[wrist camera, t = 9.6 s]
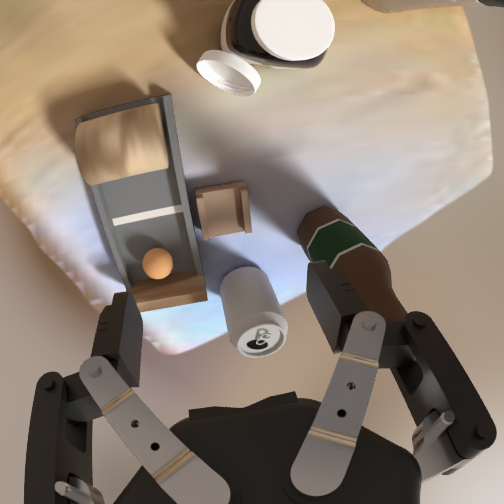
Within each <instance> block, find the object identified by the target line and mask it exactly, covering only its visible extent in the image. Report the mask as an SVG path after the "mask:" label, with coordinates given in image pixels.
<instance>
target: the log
mask: <svg viewBox="0 0 504 504" xmlns="http://www.w3.org/2000/svg"><path fill="white" fill-rule="evenodd" d="M75 153H76V159H77V163H78V167H79V169H80V172H81V174H82V176H83V178H84V180H85V181H86V183H88V184H89V185H91V186H93V185H97V184H101V183H105V182H109V181H113V180H117V179H121V178H125V177H129V176H134V175H138V174H143V173H147V172H152V171H157V170H161V169H166V168H168V164H169V163H168V150H167V142H166V135H165V129H164V123H163V118H162V114H161V110H160V106H159V104H158V103H155V104H150V105H145V106H141V107H137V108H132V109H128V110H124V111H120V112H117V113H113V114H109V115H106V116H102V117H99V118H95V119H92V120H88V121H85V122H82V123H80V124H79V125H78V126H77V129H76V133H75Z"/></svg>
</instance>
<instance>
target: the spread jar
mask: <svg viewBox="0 0 504 504" xmlns="http://www.w3.org/2000/svg"><path fill="white" fill-rule="evenodd" d="M334 31H335V24H334V19H333V16H332V13H331V11H330V9H329V8H328V6H327V5H326V4H325V3H324V1H323V0H234V1H233V2H232V4H231V5H230V6H229V8H228V10H227V12H226V14H225V16H224V19H223V23H222V27H221V47H222V50H223V51H220V50H209V51H206V52H204V53H203V55H202V56H201V58H200V59H199V61H198V62H197V63H196V68H197V70H198V72H199V73H200V74H201V76H203V77H204V78H205V79H206V80H207V81H209V82H210V83H211V84H213V85H215V86H216V87H218V88H220V89H222V90H224V91H226V92H229V93H232V94H235V95H238V96H252V95H254V93H255V92H256V90H257V88H258V87H259V85H260V83H261V79H260V76H259V74H258V73H257V71H256V70H255V69H254V68H253V67H252V66H256V67H262V68H273V69H306V68H312V67H315V66H317V65H318V64H319V63H320V62H321V61H322V60H323V58H324V56H325V54H326V52H327V49H328V47H329V45H330V43H331V42H332V40H333V36H334Z"/></svg>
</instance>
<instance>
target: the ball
mask: <svg viewBox="0 0 504 504" xmlns="http://www.w3.org/2000/svg"><path fill="white" fill-rule="evenodd" d="M142 264H143V269H144V271H145V273H146V274H147V275H148V276H149V277H151V278H153V279H162V278H165V277H166V276H168V275H169V274H170V272H171V271H172V268H173V259H172V257H171V255H170V253H169V252H168V251H166V250H165V249H162V248H153V249H151V250H149V251H148V252H147V253H146V254H145V256H144V258H143V263H142Z"/></svg>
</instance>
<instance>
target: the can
mask: <svg viewBox="0 0 504 504" xmlns="http://www.w3.org/2000/svg"><path fill="white" fill-rule="evenodd" d="M220 294H221V299H222V304H223V309H224V314H225V319H226V324H227V329H228V333H229V338H230V342H231V343H232V345H233V346H234V347H235V348H237V349H238V351H239V352H240V353H241V354H243V355H244V356H247V357H251V358H260V357H266V356H268V355H271V354H273V353H274V352H276V351H277V350H279V349H280V348H281V347H282V346H283V344H284V343H285V341H286V333H287V329H288V324H287V322H286V320H285V317H284V314H283V312H282V309H281V307H280V305H279V302H278V300H277V297H276V295H275V293H274V290H273V288H272V285H271V283H270V281H269V278H268V276H267V274H266V273H265V272H264V271H263V270H260V269H258V268H256V267H249V266H248V267H240V268H238V269H235V270H233V271H231V272H230V273H229V274H227V275H226V276H225V278H224V279H223V280H222V282H221V285H220Z"/></svg>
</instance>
